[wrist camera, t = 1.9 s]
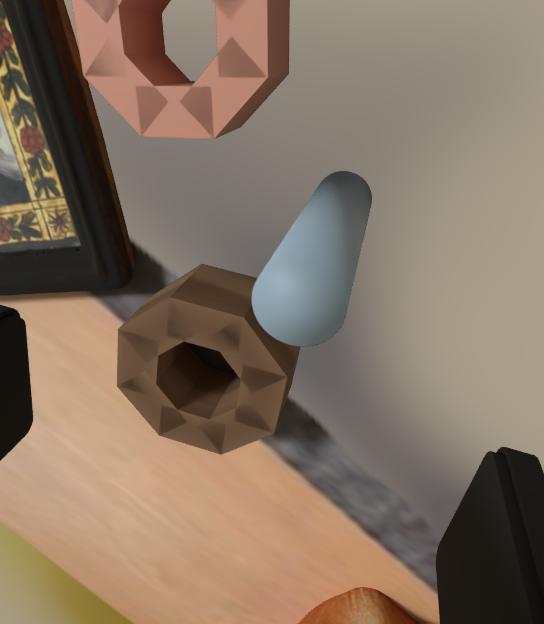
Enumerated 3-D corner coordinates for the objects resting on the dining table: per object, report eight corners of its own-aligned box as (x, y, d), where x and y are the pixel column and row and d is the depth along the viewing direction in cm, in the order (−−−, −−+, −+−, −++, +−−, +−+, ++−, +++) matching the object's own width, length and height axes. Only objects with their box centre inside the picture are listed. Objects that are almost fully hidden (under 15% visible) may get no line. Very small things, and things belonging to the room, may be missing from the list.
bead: (312, 292, 28) (297, 332, 24) (283, 418, 32) (266, 468, 28) (157, 252, 29) (118, 283, 25) (150, 378, 33) (116, 422, 29)
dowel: (378, 178, 24) (357, 273, 14) (363, 232, 25) (334, 356, 15) (321, 165, 24) (259, 248, 14) (310, 219, 26) (245, 332, 15)
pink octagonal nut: (290, -81, 20) (266, -109, 17) (288, 128, 24) (268, 140, 20) (111, -70, 22) (56, -94, 18) (135, 123, 26) (92, 134, 22)
